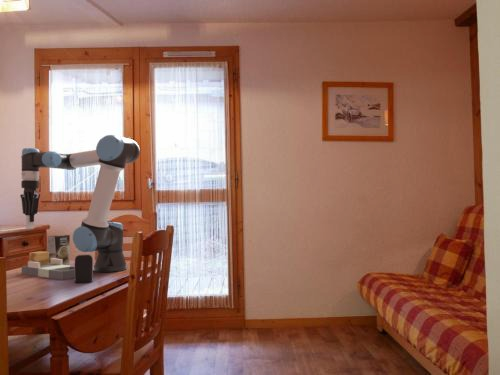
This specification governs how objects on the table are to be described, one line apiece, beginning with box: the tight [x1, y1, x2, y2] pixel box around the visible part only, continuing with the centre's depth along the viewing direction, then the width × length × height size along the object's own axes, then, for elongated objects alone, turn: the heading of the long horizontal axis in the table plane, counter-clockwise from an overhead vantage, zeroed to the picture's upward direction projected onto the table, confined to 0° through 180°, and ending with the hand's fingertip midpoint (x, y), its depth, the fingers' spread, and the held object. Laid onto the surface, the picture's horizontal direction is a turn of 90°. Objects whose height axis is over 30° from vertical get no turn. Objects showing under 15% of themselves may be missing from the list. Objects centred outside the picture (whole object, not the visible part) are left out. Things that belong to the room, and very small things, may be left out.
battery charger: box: [74, 253, 94, 284], centre depth 166 cm, size 7×4×11 cm, turn 109°
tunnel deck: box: [21, 258, 75, 281], centre depth 184 cm, size 31×12×6 cm, turn 59°
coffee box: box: [46, 234, 71, 265], centre depth 206 cm, size 9×6×16 cm
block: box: [28, 250, 49, 266], centre depth 190 cm, size 6×6×6 cm
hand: (29, 228), depth 195 cm, fingers closed
